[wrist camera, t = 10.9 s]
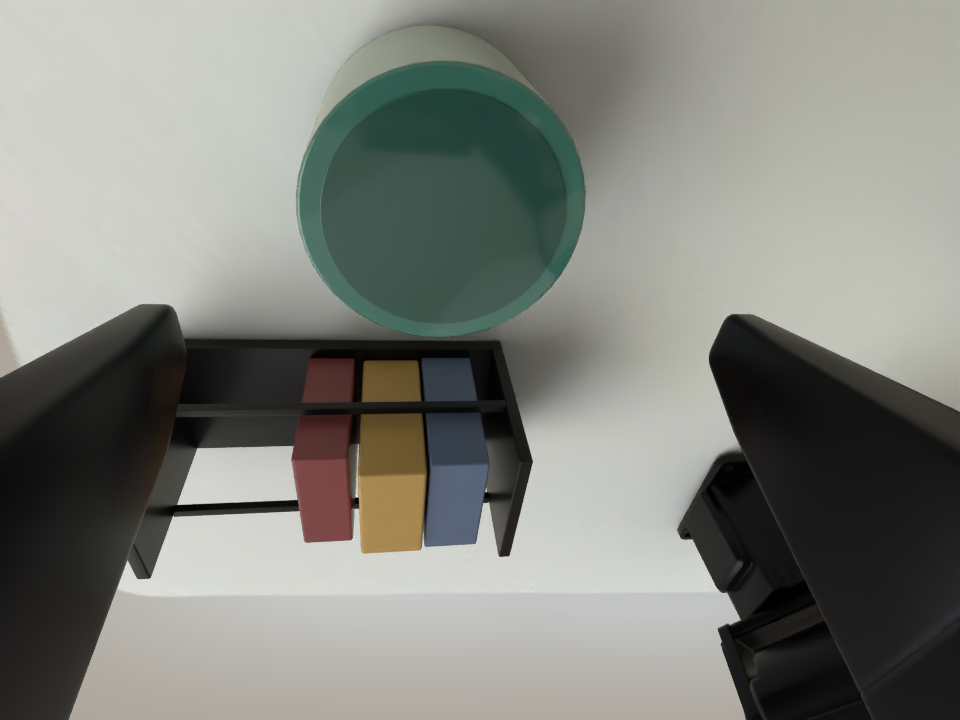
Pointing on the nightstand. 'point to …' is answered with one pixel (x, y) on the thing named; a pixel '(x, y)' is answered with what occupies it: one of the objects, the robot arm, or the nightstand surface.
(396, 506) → the books
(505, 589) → the nightstand surface
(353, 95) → the green glass jar
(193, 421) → the rack
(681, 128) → the nightstand surface
